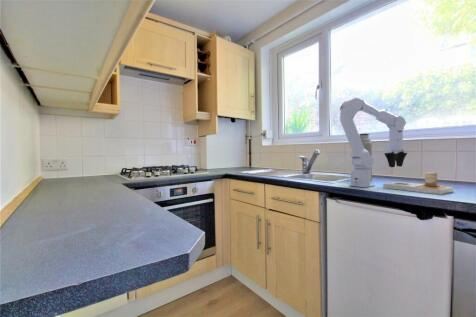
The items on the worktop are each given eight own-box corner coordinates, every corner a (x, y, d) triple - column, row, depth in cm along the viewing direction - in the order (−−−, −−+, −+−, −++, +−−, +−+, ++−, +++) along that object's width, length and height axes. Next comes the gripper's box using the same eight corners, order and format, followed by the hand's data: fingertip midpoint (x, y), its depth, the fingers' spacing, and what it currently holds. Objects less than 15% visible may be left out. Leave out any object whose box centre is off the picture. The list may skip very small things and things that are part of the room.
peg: (434, 192, 97) (434, 173, 97) (423, 191, 100) (423, 172, 100) (438, 191, 99) (438, 172, 99) (427, 190, 102) (427, 172, 102)
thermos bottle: (368, 181, 133) (368, 133, 133) (354, 180, 140) (354, 133, 139) (374, 180, 138) (374, 133, 137) (360, 179, 145) (360, 134, 144)
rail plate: (441, 194, 92) (441, 188, 92) (383, 187, 111) (383, 182, 111) (452, 191, 98) (452, 186, 98) (395, 185, 117) (395, 181, 117)
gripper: (397, 139, 111) (397, 167, 111) (411, 140, 118) (411, 166, 119) (382, 140, 117) (381, 167, 117) (396, 140, 124) (396, 165, 125)
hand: (395, 166), depth 118 cm, fingers open, 7 cm apart
